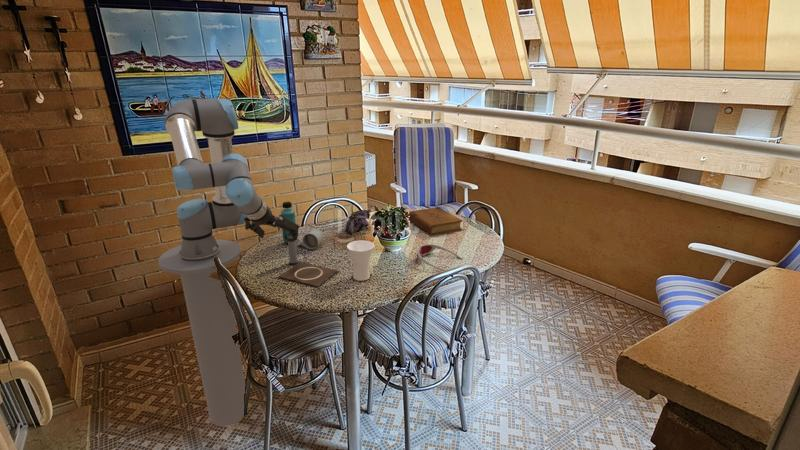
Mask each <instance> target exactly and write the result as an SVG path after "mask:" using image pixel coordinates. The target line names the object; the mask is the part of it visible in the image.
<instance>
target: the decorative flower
mask: <svg viewBox="0 0 800 450" xmlns="http://www.w3.org/2000/svg"><path fill="white" fill-rule="evenodd" d="M371 213H372V211H371V210H368V209H360V210H356V211H353V212H352V213H351V214H350V216H349V218H348V220H347V222H346V224H345V231H346V232H347V233H348V234H349V235H353V234H354V230H355V231H356V233H360V232H361V231H362V229H363V228H365V229H366V230H369V225H370V224H369V222H368V220H370V219H371V218H370V217H371Z"/></svg>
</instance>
